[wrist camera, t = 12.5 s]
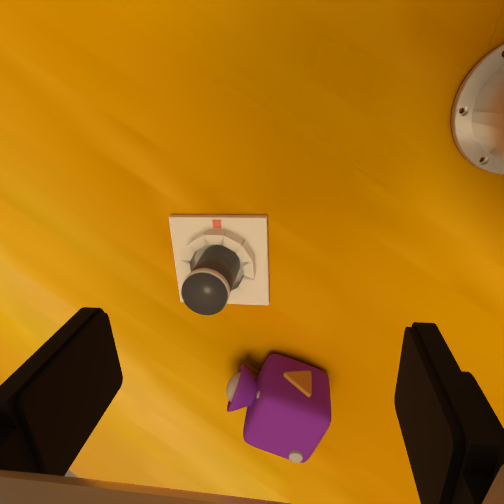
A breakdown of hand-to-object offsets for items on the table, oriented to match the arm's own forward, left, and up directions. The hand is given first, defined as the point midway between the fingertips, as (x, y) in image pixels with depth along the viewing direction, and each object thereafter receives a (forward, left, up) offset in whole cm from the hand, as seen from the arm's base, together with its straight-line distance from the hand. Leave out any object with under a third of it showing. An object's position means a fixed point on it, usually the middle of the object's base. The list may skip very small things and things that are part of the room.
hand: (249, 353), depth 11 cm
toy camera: (+2, +31, -33) cm, 45 cm away
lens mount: (+9, +12, -32) cm, 36 cm away
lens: (+9, +12, -31) cm, 35 cm away
